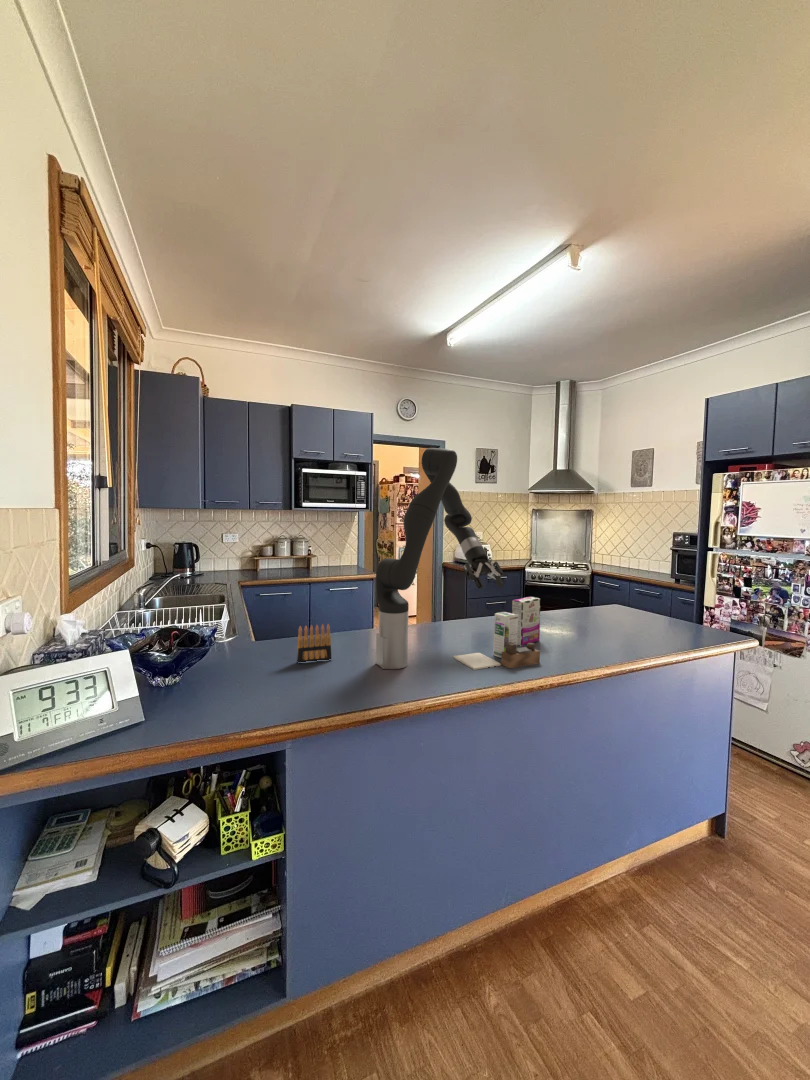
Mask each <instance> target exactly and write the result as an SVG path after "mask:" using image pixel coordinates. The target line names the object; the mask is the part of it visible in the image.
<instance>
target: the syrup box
mask: <svg viewBox="0 0 810 1080" xmlns="http://www.w3.org/2000/svg"><path fill="white" fill-rule="evenodd" d="M493 628H494V631H493V649H492V650H493V652H492V655H493V657H498V658H501V659H502V652H505V651H506V643H508V642H512V643H514V644H517V632H518V615H515V614H512V612H507V611H499V612H496V613H494V627H493Z"/></svg>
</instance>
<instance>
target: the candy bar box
mask: <svg viewBox="0 0 810 1080" xmlns="http://www.w3.org/2000/svg"><path fill="white" fill-rule="evenodd" d="M511 604H512V605H511V614H515V615H518V632H517V646H519V645H520V646H519V647H523V646H524V645H525V646H527V643H534V642H535V643H537V641H538V642H540V630H541V629H540V627H541V626H540V625H541V624H540V623H541V598H539V597H536V596H526V597H521V598H518V599H513V600H512V601H511ZM535 643H534V644H535ZM525 646H524V647H525Z"/></svg>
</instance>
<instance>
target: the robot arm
mask: <svg viewBox="0 0 810 1080" xmlns="http://www.w3.org/2000/svg"><path fill="white" fill-rule="evenodd" d="M457 464H458V455H457V452H456V450H454V449H450V448H440V447H439V448H437V447H428V448H426V449H425V450H424V451H423V453H422V456H421V467H422V468H421V469H422V470H423V472H424V474H425V475H426V477H427V479H428V480H429V482H430V483H429V485H428V486H426V487H425V488H423V490H421V491H420V492H419V493H417V495H415V496H414V497H413V498H412V499H411V501H410V503H409V504H408V507H407V509H406V512H405V514H404V518H403V531H404V537H405V545H404V549H403V552H402V554H401V557H400V559H399V558H383V559H381V560H380V561H379V563H378V564H377V567H376V570H375V571H376V572H375V590H376V592H375V593H376V594H375V595H376V601H377V604H378V632H377V633H376V635H375V639H376V640H375V664H376V665H378V666H379V667H380V668H381V669H382V670H398V669H403V668H406V667H407V666H408V664H409V663H408V662H409V661H408V660H409V657H408V656H409V655H408V654H409V652H408V651H409V608H410V607H409V601H408V600H407V599H405V598H404V597H403V596H402V595H401V594H400V593H399V591H405V590H408V589H409V588H410V587H411V586H412V584H413V583H414V581H415V578H416V575H417V570H418V567H419V563H420V559H421V555H422V552H423V550H424V546H425V544H426V541H427V537H428V535H429V532H430V530H431V528H432V525H433V523H434V520H435V517H436V515H437V511H438V510H439V507H440V503H442V506H443V509H444V511H445V513H446V515H445V516H444V520H443V522H444V525H445V527H446V528H447V529H448V530H449V531H450V532H451V533H452V534H453V535H454V536H455V538H456V539H457V541H458V543H459V545H460V548H461V551H462V554H463V555H464V558H465V559H466V563H465V564H464V566H463V567H462V568H463V571H464V573H465V575H466V579H467V580H468V581H473V582H474V584H475V586H476V588H477V589H478V590H479V591H480V590H482V589H483V588H484V584H483V583H482V580H481V578H480V577H479V576H488V577H489V578H493V580H494V581H495V584H496V585H497V587H498V588H499V589H502V588H503V586H504V581H503V578H502V577H503V575H504V574H505V573H504V571H503V569H502V567H501V566H500V564H499V563H498V561H494V562H493V563H492V562H490V561H489V557H488V554H487V552H486V550H485V549H484V548H485V547H483V545H482V543H481V541H480V540H479V538H478V537H477V534H476V532H475V531H474V529H473V528H472V527H470V526H469V525H470V524H471V523H472V521H473V519H472V514H471V512H470V511H469V510H468V509H467V508H466V507H465V506H464V504H463V501H462V499H461V495H460V493H459V491H458V490H457V488H456V487H455V486H454V485H453V484H452V483H451V482H450V481H451V480H452V478H453V476H454V473H455V471H456V468H457Z"/></svg>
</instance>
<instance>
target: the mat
mask: <svg viewBox="0 0 810 1080" xmlns="http://www.w3.org/2000/svg"><path fill="white" fill-rule="evenodd" d="M453 658H454V659H455V660H456V661H458V662H459V663H462V664H463V665H464V666H466V667H468V668H470V669H471V670H472V671H477V670H483V669H488V667H490V668H495V667H494V666H496V667H501V666H502V664H501V662H499V661H497V660H495V659H492V658H491V657H489V656H486V655H485V654H483V653H481V652H474V653H473V652H472V653H468V654H467V653H466V654H459V655H453Z"/></svg>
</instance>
